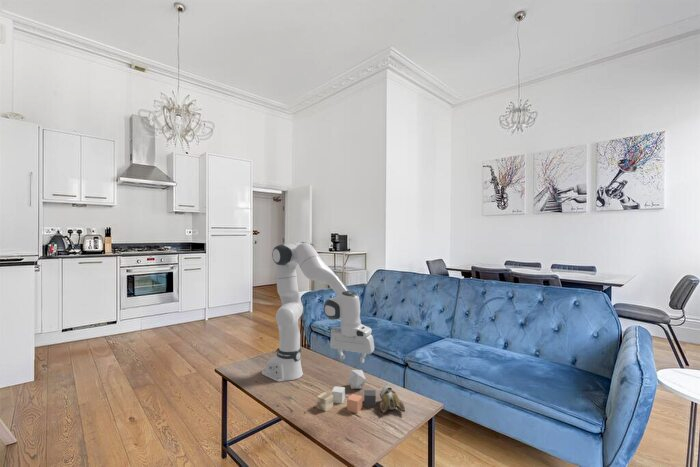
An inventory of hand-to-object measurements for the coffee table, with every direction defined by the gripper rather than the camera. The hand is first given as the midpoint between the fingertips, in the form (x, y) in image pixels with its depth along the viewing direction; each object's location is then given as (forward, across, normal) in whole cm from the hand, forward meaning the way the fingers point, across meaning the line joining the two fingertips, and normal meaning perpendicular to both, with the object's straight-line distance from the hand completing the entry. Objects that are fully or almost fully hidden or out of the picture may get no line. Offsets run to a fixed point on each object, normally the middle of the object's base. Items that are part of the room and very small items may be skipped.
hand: (352, 360), depth 138 cm
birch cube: (+20, -12, -5) cm, 24 cm away
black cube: (+21, +4, +7) cm, 23 cm away
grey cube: (+20, -10, +3) cm, 23 cm away
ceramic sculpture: (+22, +13, +8) cm, 27 cm away
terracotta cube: (+21, 0, 0) cm, 21 cm away
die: (+21, -8, +18) cm, 28 cm away
